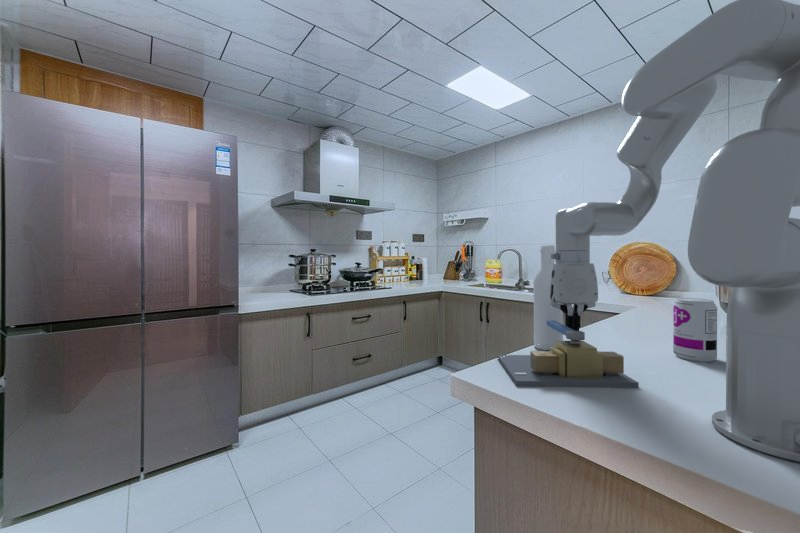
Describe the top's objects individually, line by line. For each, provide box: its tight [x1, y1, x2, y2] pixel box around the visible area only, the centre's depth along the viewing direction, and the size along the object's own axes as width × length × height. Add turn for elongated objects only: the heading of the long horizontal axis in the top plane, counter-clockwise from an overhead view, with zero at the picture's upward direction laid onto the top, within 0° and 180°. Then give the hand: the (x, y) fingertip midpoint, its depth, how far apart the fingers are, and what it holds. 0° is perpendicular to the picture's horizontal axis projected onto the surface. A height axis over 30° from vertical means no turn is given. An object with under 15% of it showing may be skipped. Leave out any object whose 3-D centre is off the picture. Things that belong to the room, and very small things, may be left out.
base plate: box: [496, 354, 640, 389], centre depth 74 cm, size 18×24×1 cm
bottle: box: [532, 244, 564, 351], centre depth 93 cm, size 8×8×30 cm
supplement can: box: [672, 297, 718, 363], centre depth 82 cm, size 8×8×15 cm
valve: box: [529, 340, 625, 378], centre depth 70 cm, size 6×18×8 cm, turn 85°
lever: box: [547, 321, 586, 341], centre depth 76 cm, size 16×4×1 cm, turn 175°
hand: (572, 330), depth 81 cm, fingers closed
